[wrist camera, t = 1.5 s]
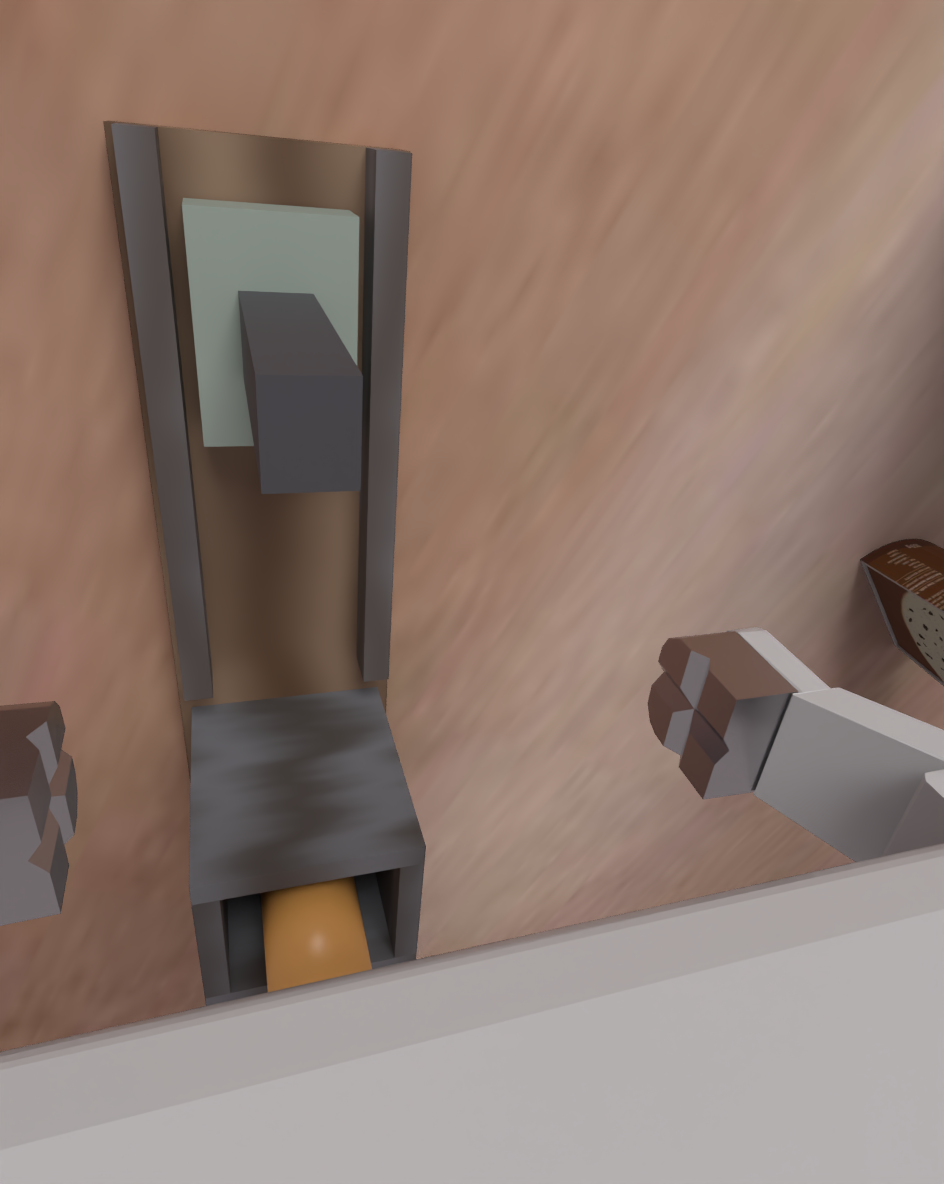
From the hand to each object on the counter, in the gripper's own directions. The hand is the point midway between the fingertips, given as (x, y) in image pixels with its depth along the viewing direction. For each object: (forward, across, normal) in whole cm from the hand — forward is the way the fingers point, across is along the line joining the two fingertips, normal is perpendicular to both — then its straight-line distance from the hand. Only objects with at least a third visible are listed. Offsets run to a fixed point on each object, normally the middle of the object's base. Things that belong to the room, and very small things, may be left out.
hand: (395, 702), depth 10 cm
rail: (+24, 0, +10) cm, 26 cm away
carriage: (+23, 0, 0) cm, 23 cm away
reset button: (+15, 0, +22) cm, 27 cm away
